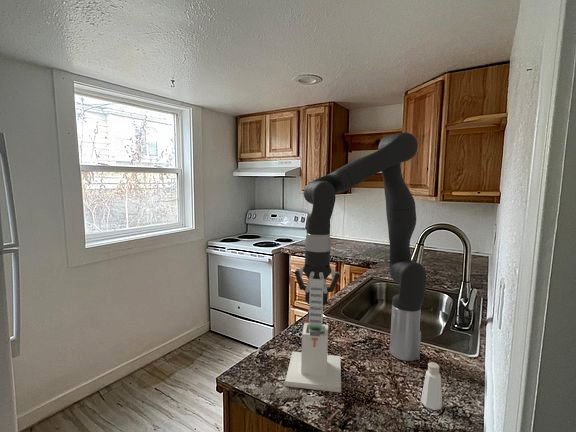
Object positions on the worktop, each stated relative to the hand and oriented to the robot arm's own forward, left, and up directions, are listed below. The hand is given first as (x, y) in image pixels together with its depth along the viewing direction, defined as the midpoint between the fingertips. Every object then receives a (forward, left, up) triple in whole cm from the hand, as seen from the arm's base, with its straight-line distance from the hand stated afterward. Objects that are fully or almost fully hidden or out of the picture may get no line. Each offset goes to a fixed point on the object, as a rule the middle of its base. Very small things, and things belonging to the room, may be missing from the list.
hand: (316, 303), depth 92 cm
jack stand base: (0, 0, -22) cm, 22 cm away
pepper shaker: (-32, +8, -22) cm, 40 cm away
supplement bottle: (+2, -20, -22) cm, 30 cm away
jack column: (0, 0, -14) cm, 14 cm away
